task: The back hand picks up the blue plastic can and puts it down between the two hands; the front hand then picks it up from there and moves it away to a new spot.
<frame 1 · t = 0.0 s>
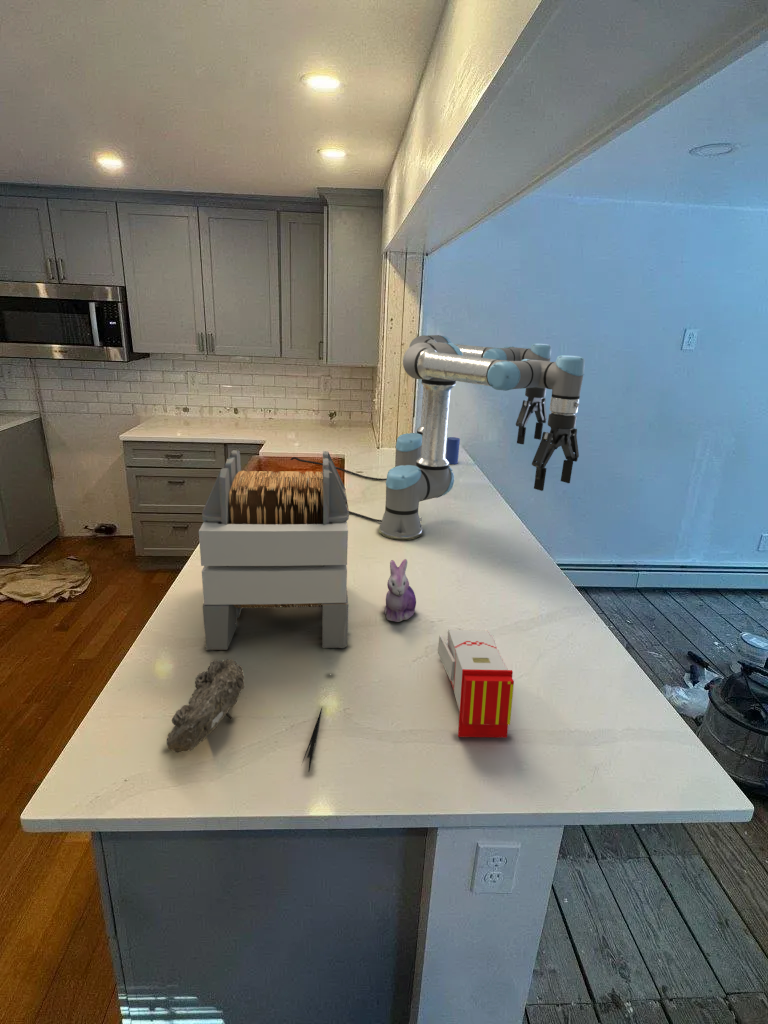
front hand: (552, 485, 166), 28 cm above the counter, tool pointing down, fingers open, 13 cm apart
back hand: (529, 441, 222), 28 cm above the counter, tool pointing down, fingers open, 13 cm apart
toy: (469, 691, 119), on the counter
fossil: (212, 717, 108), on the counter
feather: (319, 719, 109), on the counter
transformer: (281, 613, 145), on the counter
figurine: (399, 614, 147), on the counter
can: (451, 462, 297), on the counter
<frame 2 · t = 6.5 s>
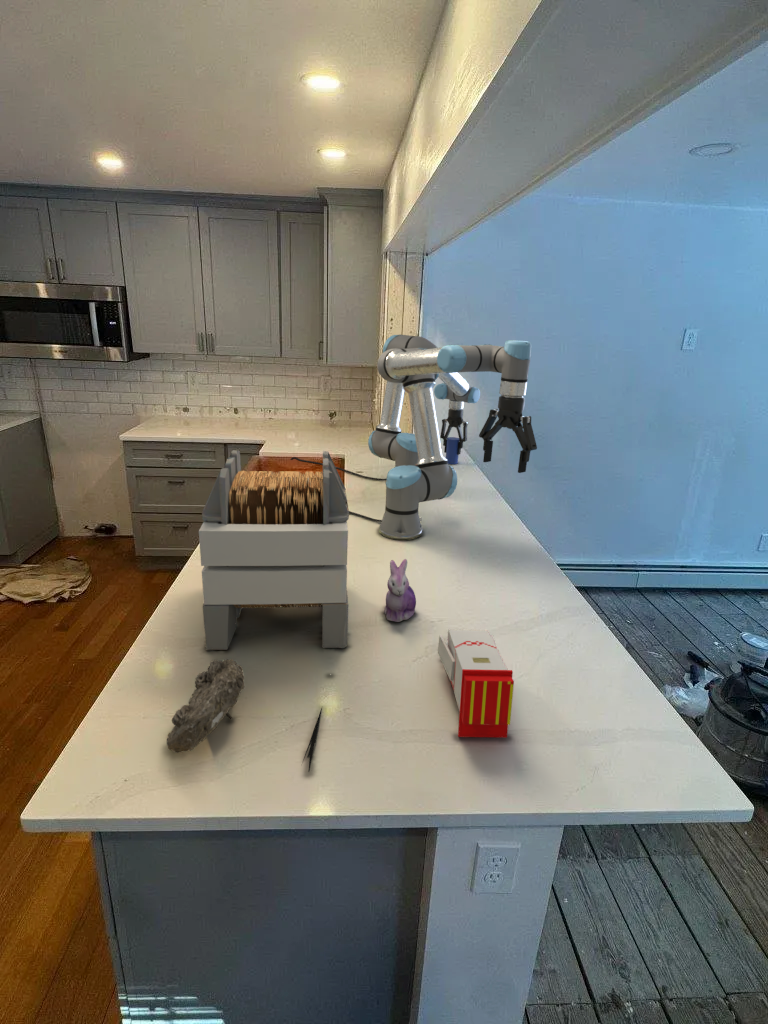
front hand: (503, 466, 172), 31 cm above the counter, tool pointing down, fingers open, 13 cm apart
back hand: (452, 453, 295), 5 cm above the counter, tool pointing down, fingers closed on can, 6 cm apart
can: (451, 462, 297), on the counter, touching back hand
everything else where it was.
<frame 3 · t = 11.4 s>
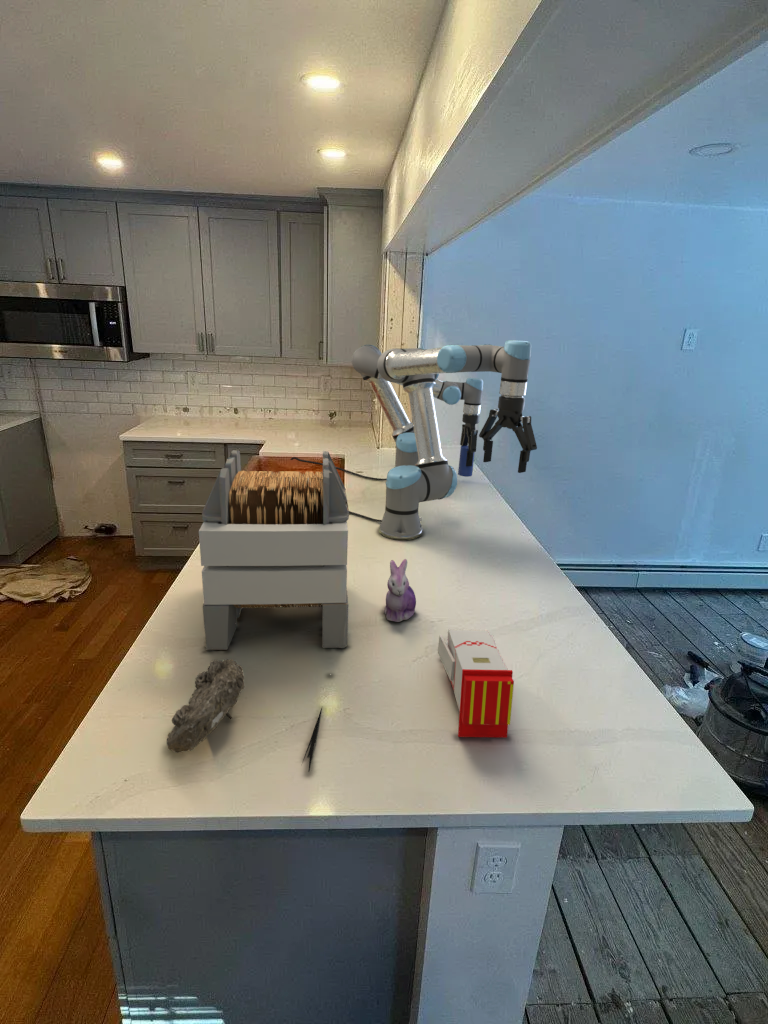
front hand: (503, 466, 172), 31 cm above the counter, tool pointing down, fingers open, 13 cm apart
back hand: (466, 463, 260), 9 cm above the counter, tool pointing down, fingers closed on can, 6 cm apart
can: (465, 474, 262), point 4 cm above the counter, touching back hand
everything else where it was.
when the back hand's fingers open (7 cm above the counter, at t = 16.2 s): can drops 2 cm, on the counter.
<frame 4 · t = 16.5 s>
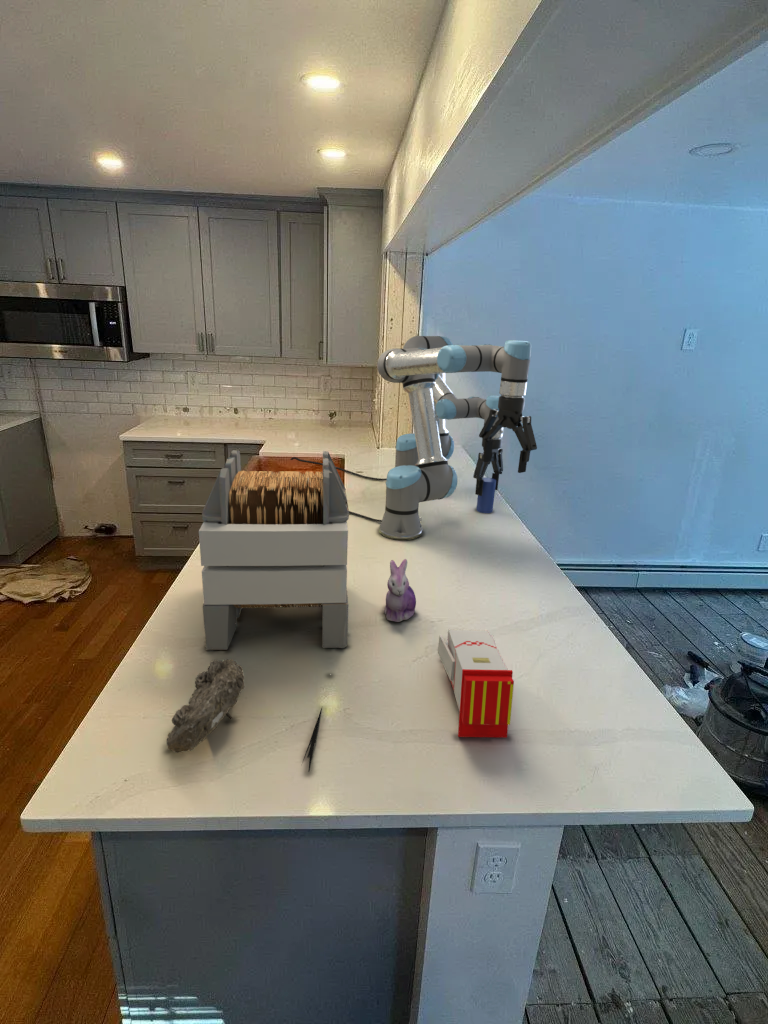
front hand: (503, 466, 172), 31 cm above the counter, tool pointing down, fingers open, 13 cm apart
back hand: (486, 492, 225), 8 cm above the counter, tool pointing down, fingers open, 10 cm apart
can: (484, 510, 227), on the counter
everything else where it was.
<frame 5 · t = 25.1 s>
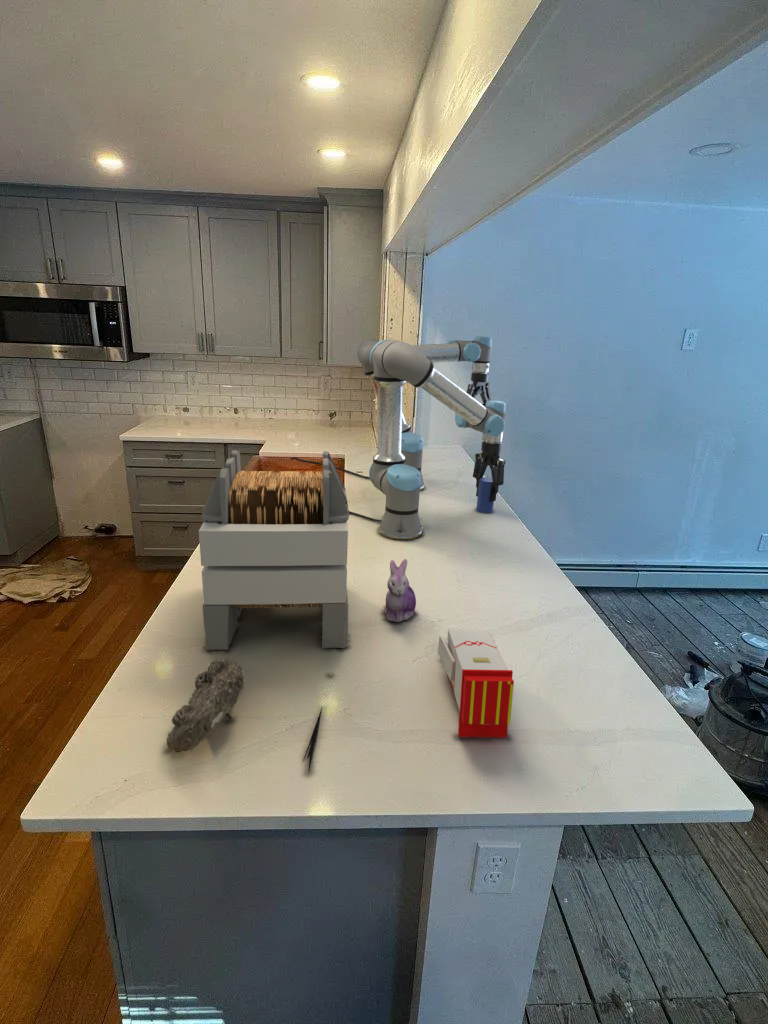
front hand: (485, 498, 226), 5 cm above the counter, tool pointing down, fingers closed on can, 6 cm apart
back hand: (475, 419, 261), 28 cm above the counter, tool pointing down, fingers open, 13 cm apart
can: (484, 510, 227), on the counter, touching front hand
everything else where it was.
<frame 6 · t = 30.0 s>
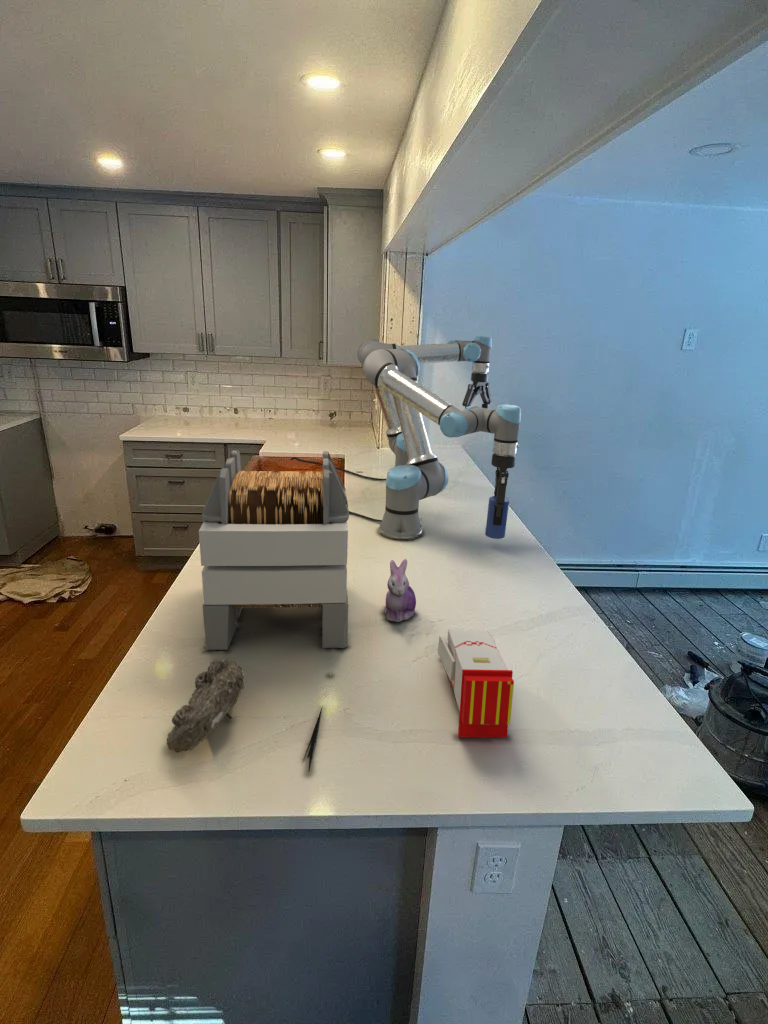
front hand: (496, 520, 190), 9 cm above the counter, tool pointing down, fingers closed on can, 6 cm apart
back hand: (475, 419, 261), 28 cm above the counter, tool pointing down, fingers open, 13 cm apart
can: (494, 535, 192), point 4 cm above the counter, touching front hand
everything else where it was.
when the front hand's fingers open (7 cm above the counter, at t = 35.1 s): can drops 2 cm, on the counter.
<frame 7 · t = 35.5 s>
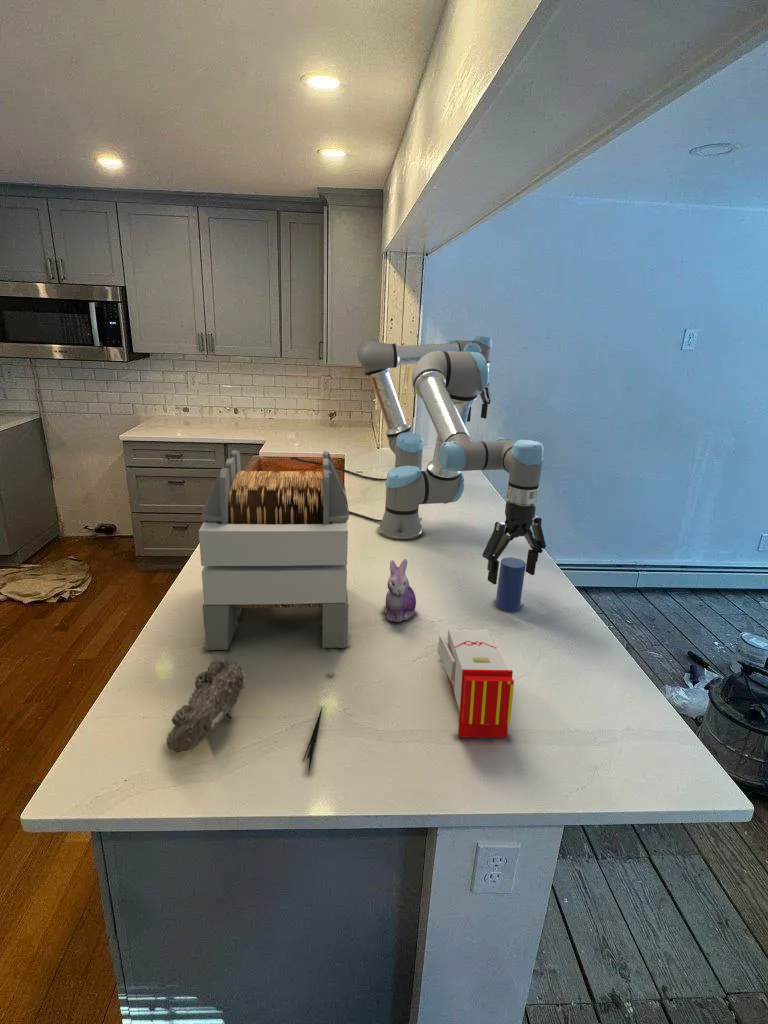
front hand: (511, 577, 151), 8 cm above the counter, tool pointing down, fingers open, 12 cm apart
back hand: (475, 419, 261), 28 cm above the counter, tool pointing down, fingers open, 13 cm apart
can: (507, 605, 154), on the counter
everything else where it was.
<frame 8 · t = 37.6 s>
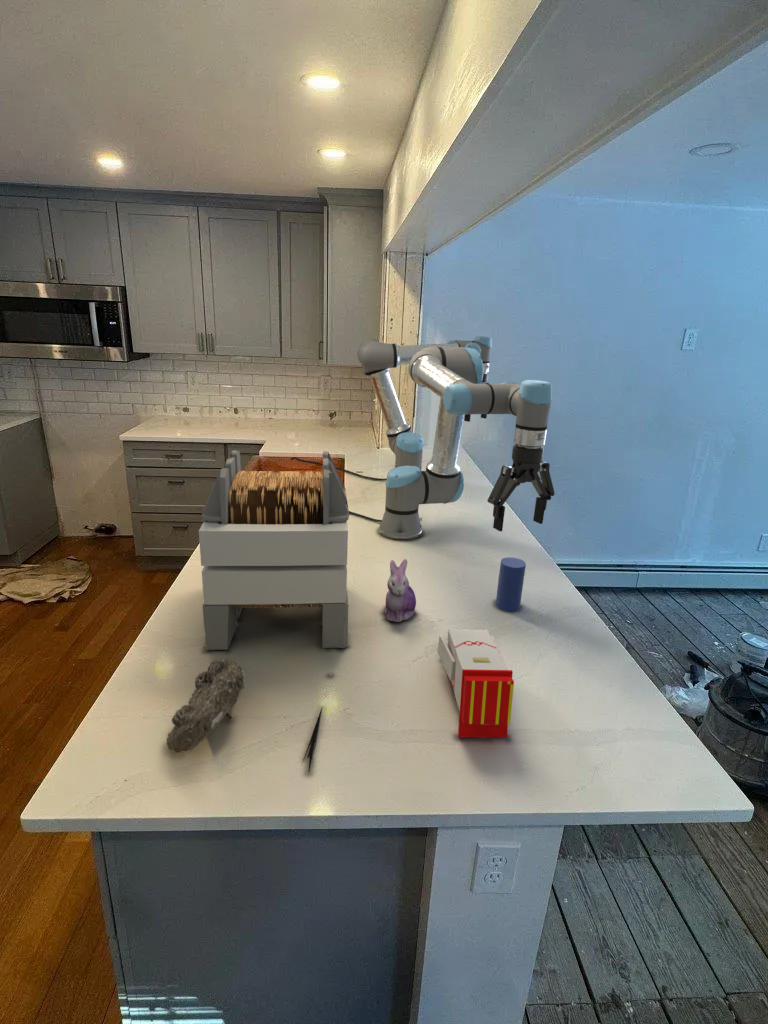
front hand: (518, 525, 146), 23 cm above the counter, tool pointing down, fingers open, 13 cm apart
back hand: (475, 419, 261), 28 cm above the counter, tool pointing down, fingers open, 13 cm apart
nothing on the counter moved.
at the end: can inside the target area (0.0 cm from its centre), on the counter; can tilted 0°; the two hands never held the can at the same time; the front hand is holding nothing; the back hand is holding nothing; can at rest at the end (0.0 cm/s) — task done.
